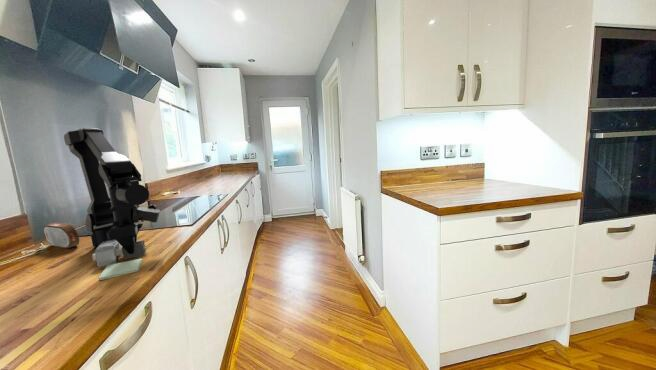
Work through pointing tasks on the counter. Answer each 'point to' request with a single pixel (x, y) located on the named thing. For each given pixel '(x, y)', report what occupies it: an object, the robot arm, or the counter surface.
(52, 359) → the counter surface
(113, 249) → the housing
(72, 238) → the tin
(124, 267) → the mat
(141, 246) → the plug
